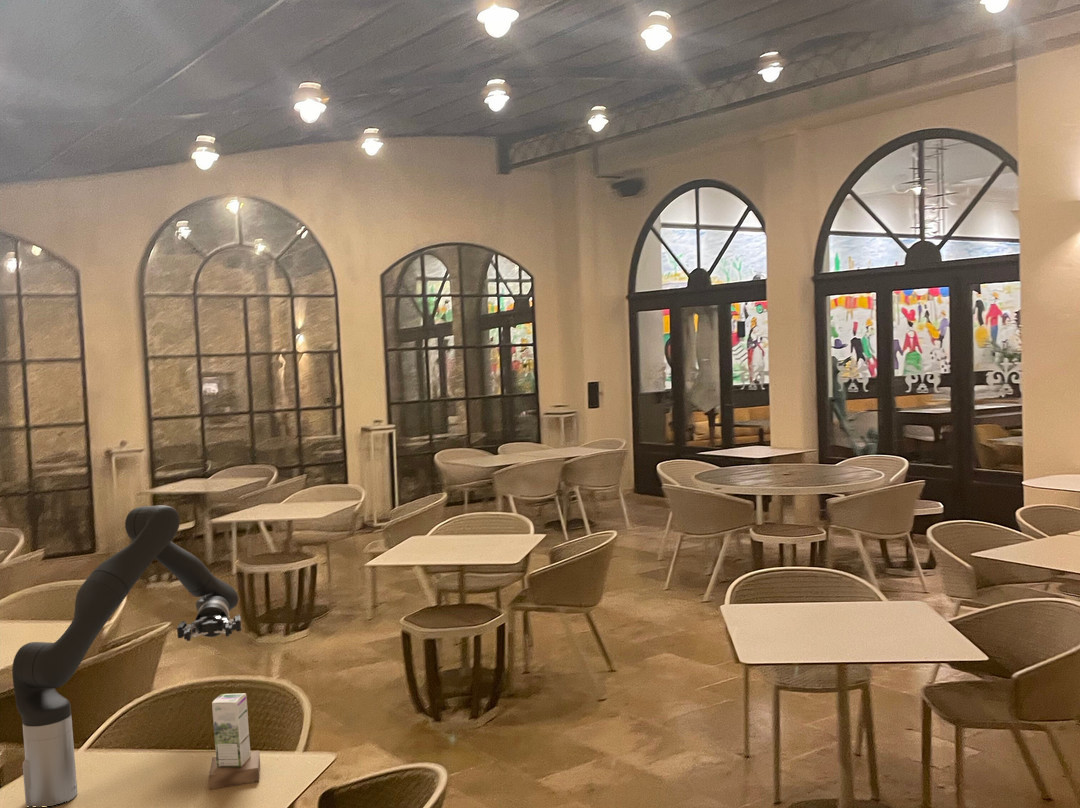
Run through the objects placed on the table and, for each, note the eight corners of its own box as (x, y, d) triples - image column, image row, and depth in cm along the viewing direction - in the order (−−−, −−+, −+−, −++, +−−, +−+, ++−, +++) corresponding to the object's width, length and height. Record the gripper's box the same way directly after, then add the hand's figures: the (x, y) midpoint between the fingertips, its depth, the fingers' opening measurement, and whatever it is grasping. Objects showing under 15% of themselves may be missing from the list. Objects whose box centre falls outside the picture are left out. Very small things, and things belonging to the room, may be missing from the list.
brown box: (209, 789, 205) (208, 775, 205) (213, 770, 215) (212, 757, 215) (259, 781, 208) (258, 767, 208) (260, 763, 217) (259, 750, 217)
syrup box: (251, 756, 214) (247, 691, 213) (241, 767, 208) (236, 701, 207) (226, 757, 214) (222, 692, 214) (215, 768, 208) (210, 701, 208)
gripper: (181, 605, 237) (173, 622, 221) (241, 599, 241) (238, 614, 225) (183, 636, 237) (176, 654, 222) (244, 629, 241) (241, 646, 225)
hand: (207, 634), depth 223 cm, fingers open, 8 cm apart
